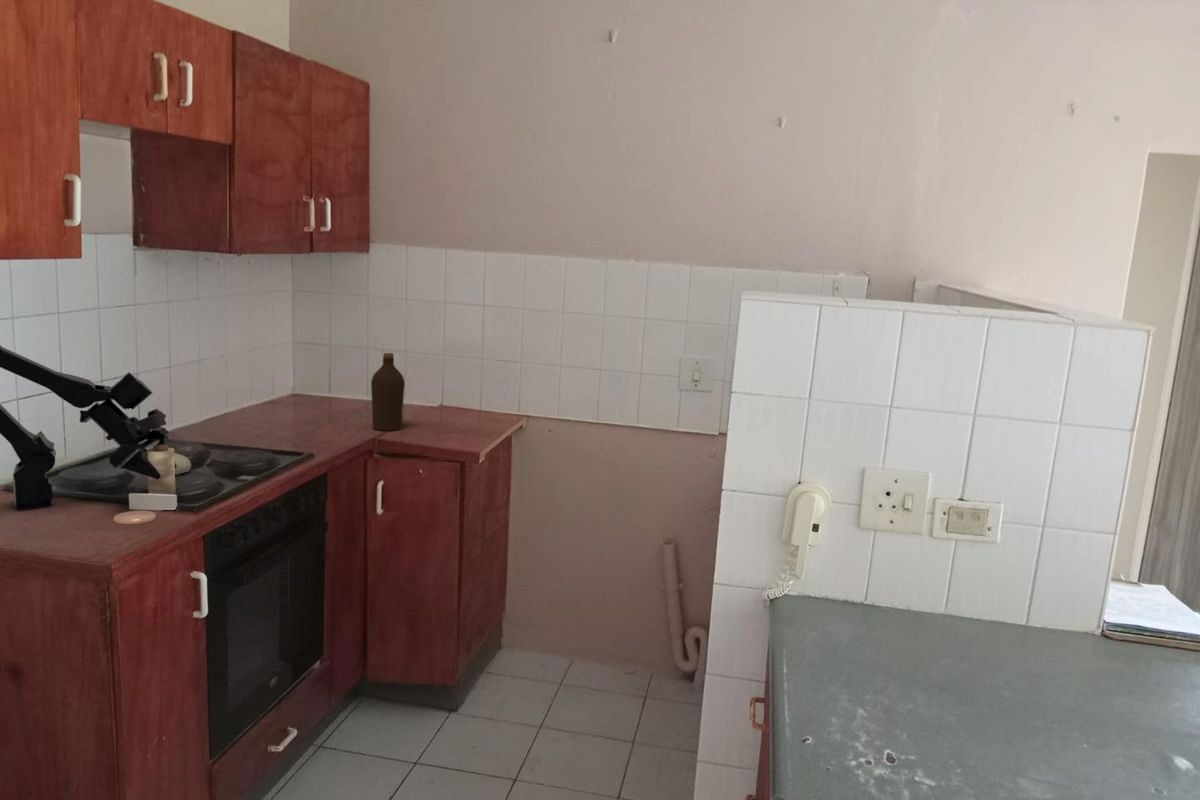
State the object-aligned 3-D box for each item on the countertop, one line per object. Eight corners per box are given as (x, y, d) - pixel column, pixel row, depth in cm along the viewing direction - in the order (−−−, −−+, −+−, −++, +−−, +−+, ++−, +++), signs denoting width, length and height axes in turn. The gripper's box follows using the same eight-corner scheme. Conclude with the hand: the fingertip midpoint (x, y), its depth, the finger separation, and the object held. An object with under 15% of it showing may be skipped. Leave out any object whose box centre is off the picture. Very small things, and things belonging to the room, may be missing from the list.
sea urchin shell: (200, 466, 225) (177, 447, 220) (179, 490, 222) (155, 472, 217) (184, 459, 231) (162, 440, 226) (163, 483, 228) (140, 465, 223)
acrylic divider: (129, 509, 194) (128, 494, 194) (131, 508, 195) (130, 493, 195) (175, 510, 195) (175, 495, 194) (177, 509, 196) (176, 494, 195)
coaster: (118, 527, 183) (118, 524, 183) (109, 516, 189) (109, 514, 189) (160, 521, 188) (160, 518, 188) (150, 511, 194) (150, 508, 194)
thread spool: (152, 505, 198) (150, 449, 196) (146, 499, 202) (144, 444, 200) (178, 502, 201) (176, 447, 199) (171, 496, 206) (170, 442, 203)
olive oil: (379, 433, 283) (380, 356, 278) (365, 426, 291) (366, 351, 286) (409, 430, 289) (410, 355, 285) (394, 424, 297) (396, 350, 293)
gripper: (121, 407, 188) (175, 459, 191) (159, 393, 207) (208, 440, 209) (84, 442, 189) (139, 493, 192) (126, 424, 207) (175, 471, 210)
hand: (167, 473), depth 201 cm, fingers open, 8 cm apart
